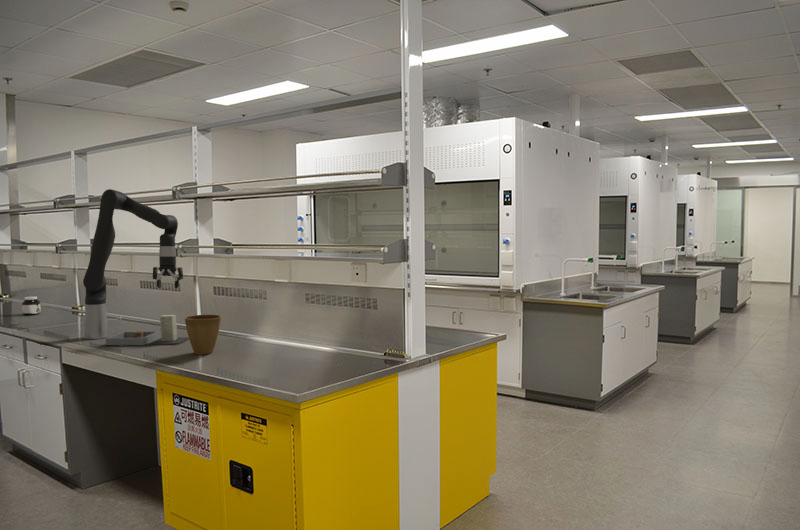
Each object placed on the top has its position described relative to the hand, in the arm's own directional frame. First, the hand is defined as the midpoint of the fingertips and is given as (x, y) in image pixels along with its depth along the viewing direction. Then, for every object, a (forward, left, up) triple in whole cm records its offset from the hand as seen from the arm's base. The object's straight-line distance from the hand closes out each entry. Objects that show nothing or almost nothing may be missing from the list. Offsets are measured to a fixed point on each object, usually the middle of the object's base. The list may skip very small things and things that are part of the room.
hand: (168, 288), depth 276 cm
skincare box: (+4, -9, -25) cm, 27 cm away
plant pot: (+29, -34, -25) cm, 52 cm away
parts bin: (-14, -8, -25) cm, 30 cm away
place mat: (+4, -9, -25) cm, 27 cm away
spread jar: (-125, +86, -25) cm, 154 cm away
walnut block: (-14, -3, -25) cm, 29 cm away
